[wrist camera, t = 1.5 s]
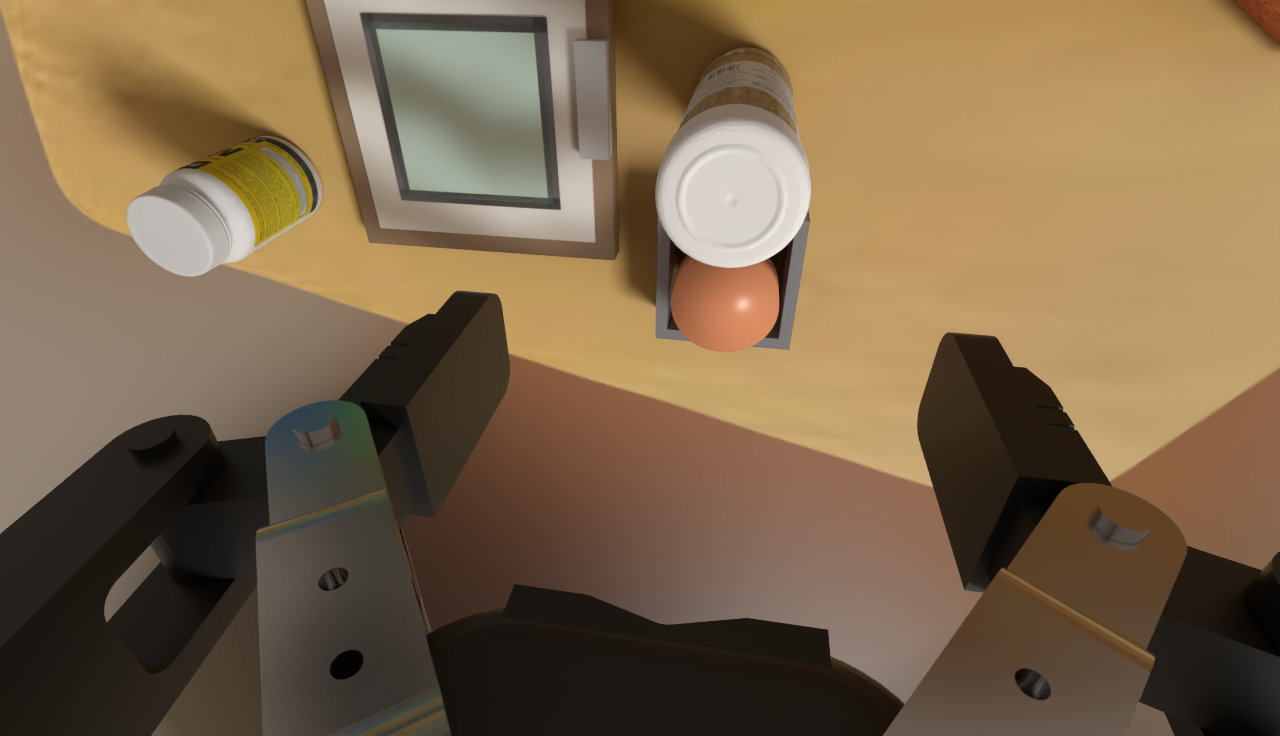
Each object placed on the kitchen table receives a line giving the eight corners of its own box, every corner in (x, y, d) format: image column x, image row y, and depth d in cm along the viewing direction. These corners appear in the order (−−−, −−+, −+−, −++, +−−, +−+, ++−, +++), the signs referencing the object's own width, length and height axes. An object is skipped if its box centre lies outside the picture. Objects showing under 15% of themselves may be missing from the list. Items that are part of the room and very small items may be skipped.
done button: (681, 221, 31) (672, 253, 28) (783, 227, 31) (786, 261, 28) (678, 309, 34) (669, 347, 31) (771, 317, 34) (772, 356, 30)
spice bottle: (711, 162, 31) (681, 289, 20) (680, 66, 29) (629, 151, 18) (805, 130, 29) (828, 249, 19) (780, 26, 27) (790, 93, 16)
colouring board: (292, -116, 27) (262, -119, 26) (611, -119, 25) (600, -122, 24) (379, 234, 36) (362, 248, 35) (618, 250, 34) (611, 266, 33)
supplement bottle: (269, 115, 33) (142, 163, 27) (340, 186, 35) (238, 248, 28) (228, 169, 36) (100, 227, 29) (297, 233, 37) (192, 302, 30)
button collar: (665, 190, 32) (657, 212, 30) (806, 198, 31) (810, 221, 29) (663, 310, 36) (655, 338, 34) (787, 320, 35) (789, 349, 33)
